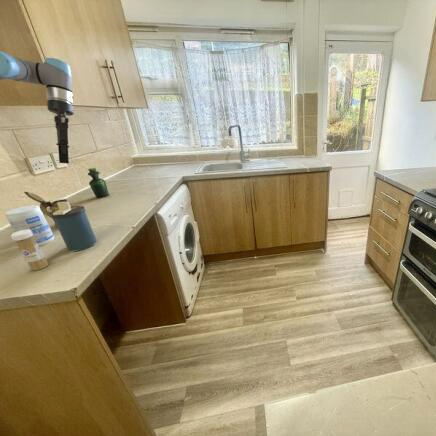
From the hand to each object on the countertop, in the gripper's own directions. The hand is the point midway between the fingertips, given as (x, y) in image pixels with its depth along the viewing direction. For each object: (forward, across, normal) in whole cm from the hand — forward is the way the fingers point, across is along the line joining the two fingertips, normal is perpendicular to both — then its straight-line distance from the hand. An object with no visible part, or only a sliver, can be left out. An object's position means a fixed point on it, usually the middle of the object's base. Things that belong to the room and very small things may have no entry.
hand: (64, 162), depth 98 cm
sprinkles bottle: (+38, -16, +9) cm, 42 cm away
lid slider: (+19, -16, +2) cm, 25 cm away
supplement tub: (+33, +7, +8) cm, 34 cm away
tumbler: (+33, -10, -3) cm, 35 cm away
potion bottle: (+13, +57, -22) cm, 63 cm away
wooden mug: (+27, +23, 0) cm, 35 cm away
